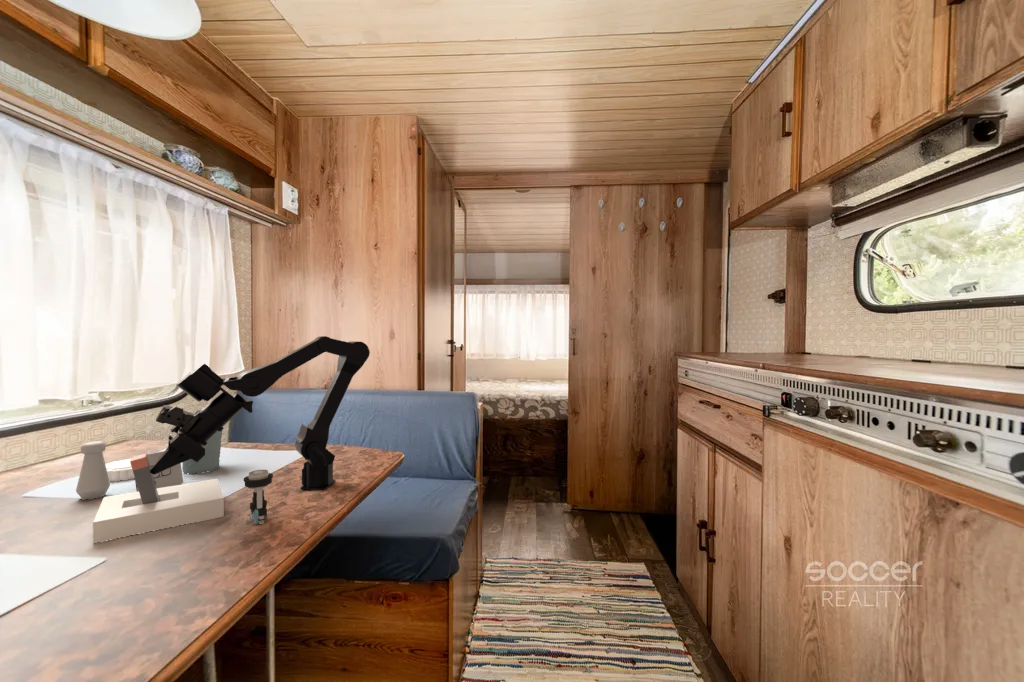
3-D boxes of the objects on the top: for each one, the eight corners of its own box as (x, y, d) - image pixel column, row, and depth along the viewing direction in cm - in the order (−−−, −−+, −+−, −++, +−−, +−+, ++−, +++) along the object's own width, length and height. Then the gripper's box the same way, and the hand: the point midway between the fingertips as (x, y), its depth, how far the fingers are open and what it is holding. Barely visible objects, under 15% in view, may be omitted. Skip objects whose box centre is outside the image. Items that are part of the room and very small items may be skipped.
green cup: (175, 476, 118) (175, 433, 118) (183, 467, 127) (183, 426, 127) (220, 471, 122) (220, 429, 122) (224, 462, 131) (224, 423, 131)
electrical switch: (139, 496, 103) (137, 457, 104) (129, 494, 106) (128, 456, 106) (184, 484, 111) (182, 448, 112) (174, 483, 114) (172, 448, 114)
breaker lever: (160, 501, 93) (146, 453, 91) (159, 506, 90) (145, 456, 88) (145, 506, 91) (131, 457, 90) (145, 511, 88) (130, 461, 87)
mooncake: (85, 480, 115) (86, 466, 115) (136, 467, 127) (136, 455, 127) (116, 484, 112) (116, 470, 112) (165, 471, 123) (165, 458, 123)
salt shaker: (114, 494, 104) (114, 441, 104) (83, 503, 99) (83, 446, 98) (102, 491, 106) (102, 438, 106) (71, 498, 101) (71, 443, 101)
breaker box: (217, 495, 104) (217, 478, 104) (223, 516, 91) (223, 497, 91) (103, 515, 92) (103, 497, 91) (93, 544, 79) (93, 522, 79)
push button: (276, 522, 88) (276, 474, 88) (246, 529, 85) (246, 479, 85) (270, 512, 94) (270, 466, 94) (241, 518, 90) (241, 471, 90)
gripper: (183, 387, 101) (119, 441, 94) (185, 396, 86) (109, 460, 79) (223, 417, 106) (165, 470, 99) (231, 430, 91) (164, 493, 84)
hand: (151, 472), depth 90 cm, fingers closed, pressing on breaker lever
